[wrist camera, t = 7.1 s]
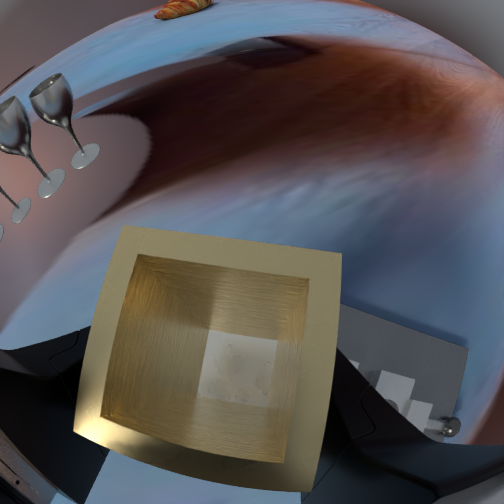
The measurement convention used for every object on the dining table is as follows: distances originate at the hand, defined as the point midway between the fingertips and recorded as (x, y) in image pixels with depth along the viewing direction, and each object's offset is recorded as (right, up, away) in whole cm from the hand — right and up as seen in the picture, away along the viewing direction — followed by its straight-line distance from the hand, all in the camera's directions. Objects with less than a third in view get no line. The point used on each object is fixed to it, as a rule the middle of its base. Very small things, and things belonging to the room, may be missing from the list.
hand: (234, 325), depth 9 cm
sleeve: (0, -3, +4) cm, 5 cm away
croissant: (-18, +71, +47) cm, 87 cm away
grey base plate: (+7, -9, +8) cm, 14 cm away
